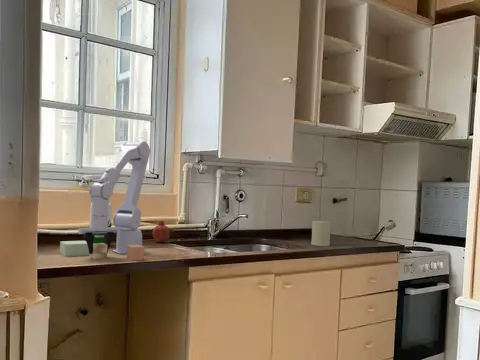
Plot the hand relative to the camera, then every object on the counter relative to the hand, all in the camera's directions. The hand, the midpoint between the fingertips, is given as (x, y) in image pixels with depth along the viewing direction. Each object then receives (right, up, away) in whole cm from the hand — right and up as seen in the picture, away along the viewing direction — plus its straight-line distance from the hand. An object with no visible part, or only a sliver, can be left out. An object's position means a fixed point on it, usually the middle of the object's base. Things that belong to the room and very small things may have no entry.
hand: (98, 253), depth 167 cm
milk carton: (-9, -2, +29) cm, 30 cm away
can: (+91, -6, +62) cm, 111 cm away
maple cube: (0, -2, 0) cm, 2 cm away
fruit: (+15, -3, +47) cm, 49 cm away
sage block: (-11, -1, +6) cm, 12 cm away
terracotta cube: (+13, -2, -1) cm, 14 cm away
